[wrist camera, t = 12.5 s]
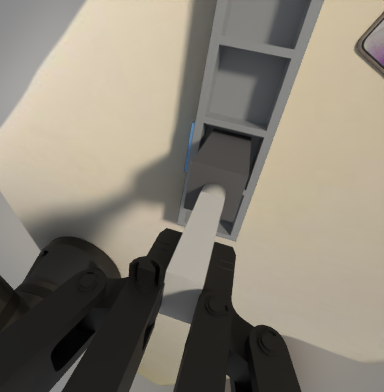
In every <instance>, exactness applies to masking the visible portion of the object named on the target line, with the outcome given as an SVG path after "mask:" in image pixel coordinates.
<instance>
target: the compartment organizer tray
mask: <svg viewBox="0 0 384 392" xmlns="http://www.w3.org/2000/svg"><path fill="white" fill-rule="evenodd" d="M323 2H324V0H217V4H216V10H215V15H214V21H213V27H212V32H211V38H210V43H209V49H208V54H207V60H206V66H205V71H204V77H203V82H202V88H201V93H200V99H199V105H198V110H197V116H196V120H195V121H194V122H193V123H192V128H191V133H190V139H189V145H188V151H187V156H186V162H185V168H184V171H186V177H185V183H184V188H183V194H182V199H181V205H180V211H179V216H178V222H177V224H178V225H181V226H185V227H186V225H187V222H188V220H189V218H190V216H191V213H192V210H188V209H185V208H183V207H184V202H185V196H186V191H187V186H188V181H189V175H190V170H191V165H192V161H193V159H194V158H195V156H196V155H197V153H198V152H199V150H200V149H201V147H202V146H203V144H204V143H205V141H206V140H207V138H208V137H209V135H210V134H211V132H212V131H213V129H214V128H215V129H219V130H223V131H228V132H232V133H236V134H240V135H244V136H248V137H251V151H250V165H249V177H248V180H247V183H246V186H245V189H244V192H243V194H242V197H241V200H240V203H239V206H238V209H237V212H236V215H235V218H234V221H233V222H230V221H227V220H223V219H220V220H219V224H218V228H217V232H216V236H218V237H222V238H225V239H229V240H232V241H235V242H236V239H237V237H238V234H239V231H240V228H241V226H242V223H243V220H244V217H245V215H246V212H247V209H248V206H249V204H250V201H251V198H252V196H253V193H254V190H255V187H256V185H257V182H258V179H259V176H260V174H261V171H262V168H263V166H264V163H265V160H266V157H267V155H268V152H269V149H270V146H271V144H272V141H273V138H274V136H275V133H276V130H277V127H278V125H279V122H280V119H281V116H282V114H283V111H284V108H285V105H286V103H287V100H288V97H289V95H290V92H291V89H292V86H293V84H294V81H295V78H296V75H297V73H298V70H299V67H300V65H301V62H302V59H303V56H304V54H305V51H306V48H307V45H308V43H309V40H310V37H311V34H312V32H313V29H314V26H315V24H316V21H317V18H318V15H319V13H320V10H321V7H322V4H323Z"/></svg>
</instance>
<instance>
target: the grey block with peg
mask: <svg viewBox="0 0 384 392" xmlns="http://www.w3.org/2000/svg"><path fill="white" fill-rule="evenodd" d="M250 151H251V137H248V136H244V135H240V134H236V133H232V132H228V131H223V130H219V129H215V128H214V129H213V131H212V132H211V134H210V135H209V137H208V138H207V140H206V141H205V143H204V144H203V146H202V147H201V149H200V150H199V152H198V153H197V155H196V156H195V158H194V159H193V161H192V165H191V170H190V175H189V181H188V186H187V191H186V196H185V202H184V207H183V208H185V209H188V210H192V211H193V209H194V206H195V204H196V202H197V200H198V197H199V195H200V193H201V191H202V192H206V193H209V194H213V195H216V196H220V197H224V198H225V199H224V203H223V207H222V212H221V216H220V219H223V220H227V221H230V222H233V221H234V218H235V215H236V212H237V209H238V206H239V203H240V200H241V197H242V194H243V192H244V189H245V186H246V183H247V180H248V177H249V165H250Z"/></svg>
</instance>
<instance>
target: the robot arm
mask: <svg viewBox="0 0 384 392" xmlns="http://www.w3.org/2000/svg"><path fill="white" fill-rule="evenodd" d="M224 199H225V198H224V197H220V196H216V195H213V194H209V193H206V192H202V191H201V193H200V195H199V197H198V200H197V202H196V204H195V206H194V209H193V211H192V213H191V216H190V218H189V220H188V222H187V225H186V227H185V229H184V231H183V233H182V232H178V231H175V230H172V229H168V228H166V229H165V230H163V231H162V232H161V233H160V234H159V235H158V237H157V239H156V241H155V242H154V244H153V246H152V247H151V249H150V251H149V253H148V254H147V256H144V257H139V258H137V259H134V260H133V261H132V262H131V263H130V264H129V277H126V278H121V276H120V273H119V270H118V268H117V267H116V265H115V264H114V262H113V261H112V260H111V259H110V258H109V257H108V256H107V255H106V254H105V253H104V252H103V251H102V250H100V249H99V248H97V247H96V246H94V245H93V244H91V243H89V242H86V241H84V240H81V239H78V238H73V237H60V238H57V239H55V240H53V241H52V242H51V243H50V244H48V245H47V246H46V247H45V248H44V249H43V250H42V251H41V252H40V254H39V256H38V257H37V259H36V261H35V262H34V264H33V266H32V268H31V269H30V271H29V273H28V275H27V276H26V278H25V279H24V281H23V283H22V284H21V285H19V286H18V287H17V288H16V289H15V290H13V288H12V287H11V286H10V285H9V284H8V283H7V282H6V281H5V280H4V279H3V278H2V277H1V276H0V392H49V391H50V390H51V389H52V388H53V386H54V385H55V384H56V383H57V382H58V381H59V380H60V378H61V377H62V376H63V375H64V373H66V371H68V369H69V368H70V367H71V366H72V365H73V364H74V363H75V361H76V360H77V359H78V358H79V357H80V356H81V355H82V353H83V352H84V351H85V350H86V349H87V350H86V351H85V353H84V355H83V357H82V358H81V360H80V362H79V364H78V365H77V367H76V368H75V370H74V372H73V373H72V375H71V377H70V379H69V380H68V382H67V383H66V385H65V387H64V389H63V390H62V392H129V390H130V388H131V385H132V382H133V380H134V377H135V375H136V372H137V370H138V367H139V365H140V362H141V359H142V357H143V354H144V352H145V349H146V347H147V344H148V341H149V339H150V336H151V334H152V331H153V328H154V325H155V320H156V317H157V314H158V312H159V313H160V314H163V315H166V316H169V317H172V318H175V319H177V320H180V321H183V322H186V323H189V324H191V326H190V330H189V334H188V337H187V340H186V343H185V348H184V352H183V356H182V360H181V364H180V368H179V372H178V376H177V380H176V383H175V388H174V391H173V392H225V381H226V375H228V376H229V377H230V384H231V392H301V389H300V386H299V383H298V380H297V377H296V373H295V370H294V368H293V364H292V361H291V358H290V355H289V352H288V348H287V345H286V343H285V341H284V340H283V338H282V337H281V335H280V334H279V333H278V332H277V331H276V330H274V329H273V328H271V327H269V326H266V325H257V326H256V327H254V326H252V325H251V324H249V323H248V322H246V321H245V320H244V319H242V318H241V317H240V316H239V315H238V314H237V313H236V311H235V310H234V308H233V305H232V301H231V296H232V287H233V278H234V269H235V259H236V254H235V252H234V249H233V247H230V246H227V245H224V244H220V243H217V242H214V241H215V237H216V232H217V228H218V224H219V220H220V216H221V212H222V207H223V203H224Z"/></svg>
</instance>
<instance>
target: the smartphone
mask: <svg viewBox="0 0 384 392" xmlns="http://www.w3.org/2000/svg"><path fill="white" fill-rule="evenodd" d="M358 50H359V52H360V53H361V54H362V55H363V56H365V57H366V58H367V59H368V60H369V61H370V62H371V63H372V64H373V65H375V66H376V67H377V68H378V69H379V70H380V71H381V72H382V73H383V74H384V13H383V15H382V16H381V17H380V18H379V19H378V20H377V21H376V22H375V23H374V24H373V25H372V26H371V28H370V29H369V30H368V31H367V32H366V33H365V34H364V35H363V36H362V38H361V39H360V40H359V42H358Z"/></svg>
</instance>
